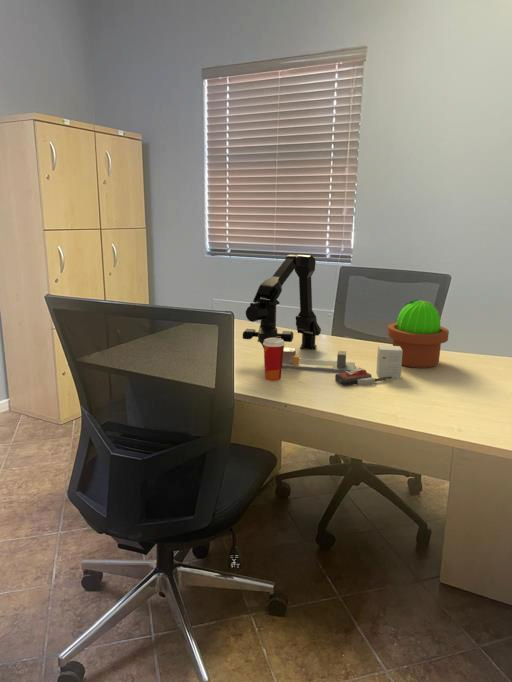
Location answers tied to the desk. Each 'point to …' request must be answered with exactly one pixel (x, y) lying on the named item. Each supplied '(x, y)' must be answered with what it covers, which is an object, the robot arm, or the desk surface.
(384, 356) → the small box
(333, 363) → the gauge board
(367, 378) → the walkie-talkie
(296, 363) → the block
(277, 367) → the paper cup
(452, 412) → the desk surface
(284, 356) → the grey faceted block
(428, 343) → the potted cactus
